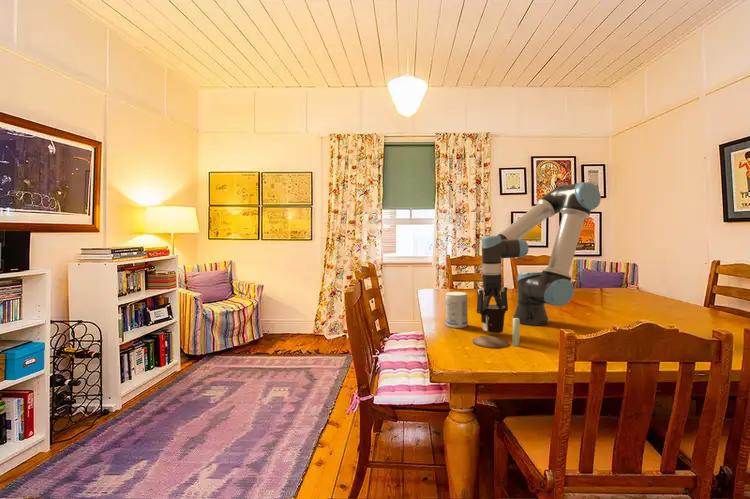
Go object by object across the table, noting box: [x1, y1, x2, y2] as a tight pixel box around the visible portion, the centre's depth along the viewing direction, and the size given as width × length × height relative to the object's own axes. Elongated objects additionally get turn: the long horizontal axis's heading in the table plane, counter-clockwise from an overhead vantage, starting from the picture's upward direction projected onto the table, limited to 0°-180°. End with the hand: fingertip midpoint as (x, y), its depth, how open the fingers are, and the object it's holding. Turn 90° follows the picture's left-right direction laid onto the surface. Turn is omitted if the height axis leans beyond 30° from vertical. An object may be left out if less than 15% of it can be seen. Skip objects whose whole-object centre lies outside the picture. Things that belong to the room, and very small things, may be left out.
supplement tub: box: [445, 291, 469, 329], centre depth 172 cm, size 10×10×15 cm
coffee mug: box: [484, 303, 506, 334], centre depth 159 cm, size 12×9×10 cm
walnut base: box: [472, 335, 509, 349], centre depth 146 cm, size 13×13×1 cm
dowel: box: [512, 317, 521, 347], centre depth 143 cm, size 2×2×10 cm
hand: (492, 329), depth 159 cm, fingers closed on coffee mug, 6 cm apart
